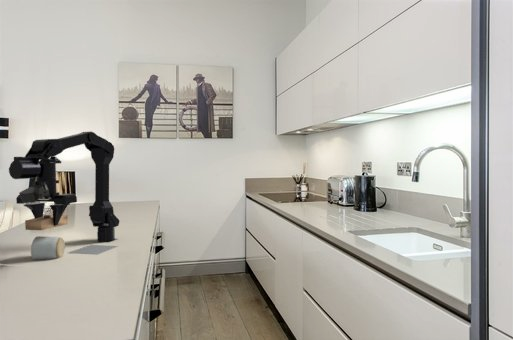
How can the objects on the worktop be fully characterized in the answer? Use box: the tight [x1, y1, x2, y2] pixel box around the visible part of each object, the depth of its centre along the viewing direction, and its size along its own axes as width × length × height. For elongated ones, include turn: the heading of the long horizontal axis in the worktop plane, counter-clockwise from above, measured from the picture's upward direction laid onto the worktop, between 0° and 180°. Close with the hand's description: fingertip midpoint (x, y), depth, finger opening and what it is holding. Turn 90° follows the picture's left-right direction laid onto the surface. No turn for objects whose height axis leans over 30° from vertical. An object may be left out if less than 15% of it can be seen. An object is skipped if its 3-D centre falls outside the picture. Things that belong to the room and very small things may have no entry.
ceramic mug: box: [30, 235, 66, 261], centre depth 118 cm, size 11×8×8 cm
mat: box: [67, 244, 119, 255], centre depth 126 cm, size 12×12×1 cm
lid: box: [24, 214, 69, 231], centre depth 116 cm, size 11×6×4 cm, turn 167°
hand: (47, 225), depth 116 cm, fingers closed on lid, 6 cm apart
